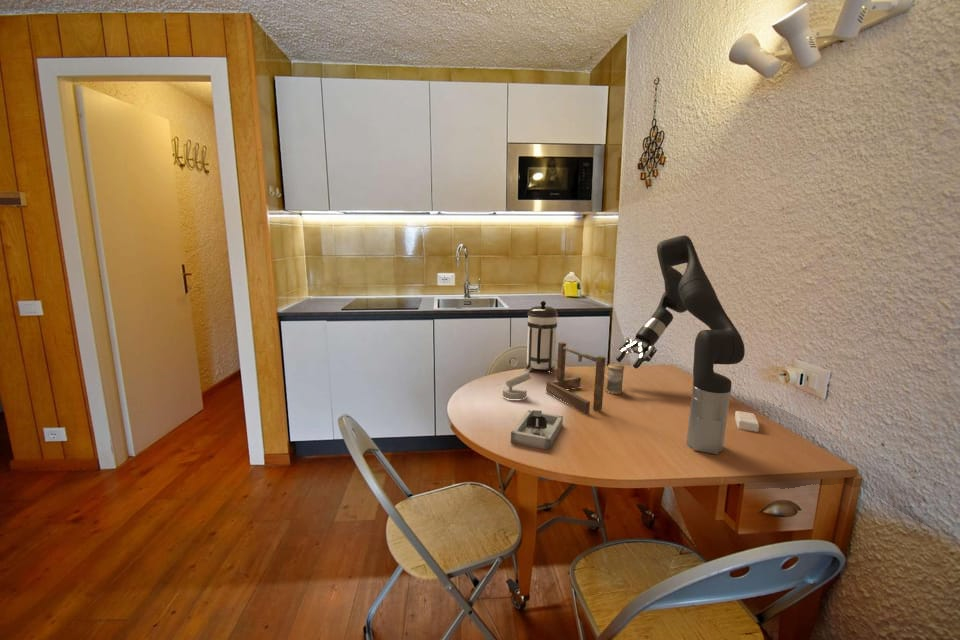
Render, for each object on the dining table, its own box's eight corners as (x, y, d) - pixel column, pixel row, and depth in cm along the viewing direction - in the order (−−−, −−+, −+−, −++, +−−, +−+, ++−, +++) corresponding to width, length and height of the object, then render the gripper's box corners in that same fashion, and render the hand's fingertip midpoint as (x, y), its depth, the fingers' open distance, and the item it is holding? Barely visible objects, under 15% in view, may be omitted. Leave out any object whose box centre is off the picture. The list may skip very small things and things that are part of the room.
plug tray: (548, 449, 119) (549, 439, 119) (510, 441, 124) (511, 432, 123) (562, 425, 135) (562, 416, 134) (527, 419, 139) (528, 410, 138)
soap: (734, 418, 143) (735, 410, 142) (753, 421, 140) (755, 413, 140) (737, 429, 134) (739, 420, 134) (758, 433, 132) (759, 423, 132)
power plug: (544, 417, 136) (547, 409, 125) (544, 442, 133) (547, 436, 122) (526, 416, 137) (527, 408, 126) (525, 441, 133) (526, 434, 123)
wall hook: (533, 374, 153) (504, 374, 152) (532, 400, 154) (503, 400, 154) (529, 367, 161) (502, 367, 161) (528, 392, 163) (501, 392, 162)
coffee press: (514, 366, 193) (516, 299, 187) (544, 362, 200) (547, 297, 194) (537, 378, 178) (540, 305, 172) (568, 373, 185) (572, 303, 179)
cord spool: (621, 395, 161) (623, 369, 159) (605, 393, 163) (607, 367, 161) (622, 390, 166) (625, 365, 164) (607, 388, 168) (609, 363, 166)
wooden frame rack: (576, 386, 169) (579, 340, 166) (619, 406, 150) (623, 354, 146) (545, 392, 163) (547, 344, 159) (585, 414, 143) (589, 360, 140)
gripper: (670, 342, 164) (644, 375, 162) (640, 334, 177) (616, 364, 174) (661, 330, 161) (635, 363, 158) (632, 322, 173) (607, 352, 170)
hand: (625, 363), depth 166 cm, fingers open, 8 cm apart
